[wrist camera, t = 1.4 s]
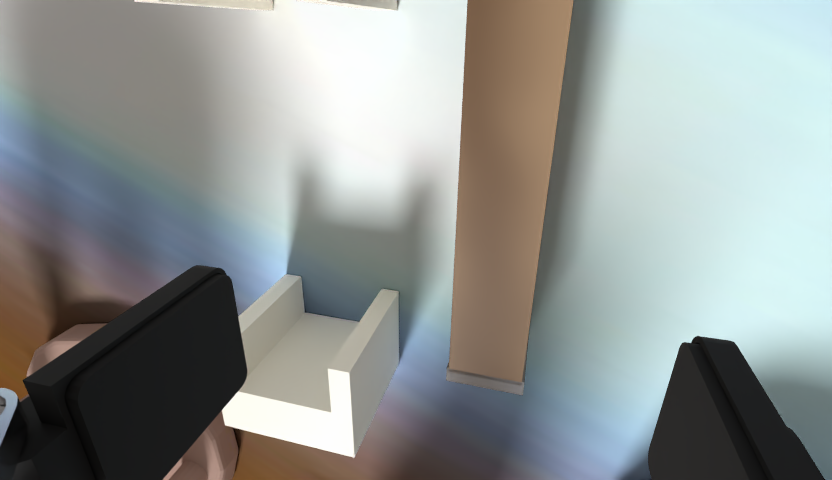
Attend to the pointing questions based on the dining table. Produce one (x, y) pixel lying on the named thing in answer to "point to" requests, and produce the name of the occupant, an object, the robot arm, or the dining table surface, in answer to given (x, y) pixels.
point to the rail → (503, 182)
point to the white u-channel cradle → (311, 344)
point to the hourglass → (203, 462)
